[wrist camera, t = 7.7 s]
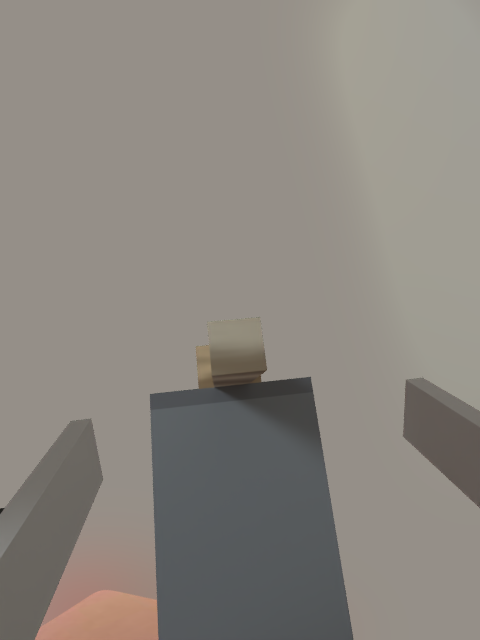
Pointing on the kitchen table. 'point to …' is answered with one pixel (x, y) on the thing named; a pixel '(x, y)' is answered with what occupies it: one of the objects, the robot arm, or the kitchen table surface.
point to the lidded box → (244, 516)
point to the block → (231, 353)
